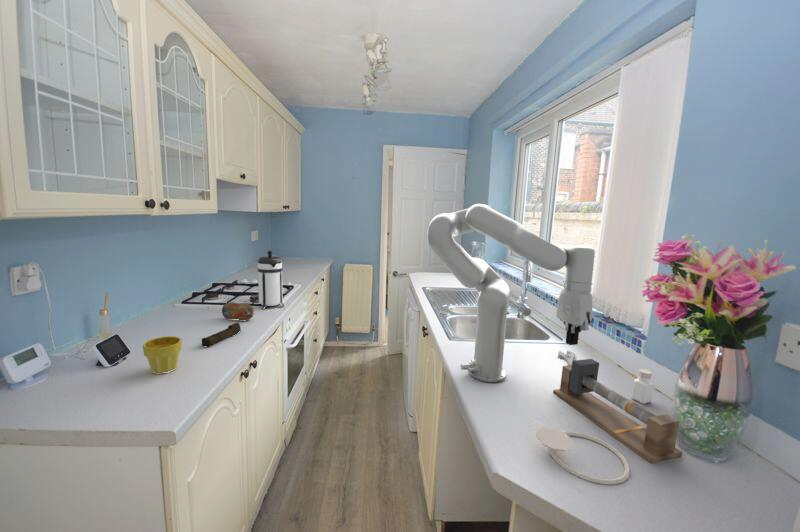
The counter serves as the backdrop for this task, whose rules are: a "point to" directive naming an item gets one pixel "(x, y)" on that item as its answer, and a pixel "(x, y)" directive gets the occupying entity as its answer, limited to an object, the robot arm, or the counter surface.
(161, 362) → the plant pot
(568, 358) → the adjustable wrench
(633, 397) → the salt shaker
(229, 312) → the tin
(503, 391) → the counter surface
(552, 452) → the hand towel holder
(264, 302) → the coffee press
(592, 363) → the collar
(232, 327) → the hand tool
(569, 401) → the pipe stand
